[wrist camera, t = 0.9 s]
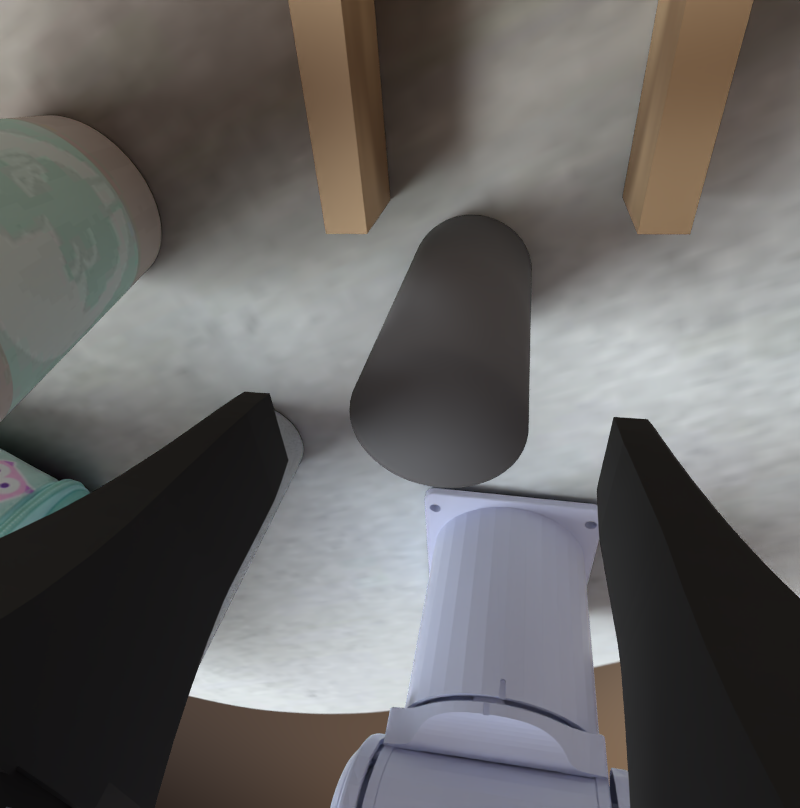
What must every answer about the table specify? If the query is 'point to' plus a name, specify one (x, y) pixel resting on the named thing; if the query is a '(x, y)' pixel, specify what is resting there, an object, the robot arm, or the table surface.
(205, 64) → the table surface
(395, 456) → the dark grey cylinder
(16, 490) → the lunch box
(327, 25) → the rack
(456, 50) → the table surface
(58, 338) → the coffee cup
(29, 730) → the robot arm
